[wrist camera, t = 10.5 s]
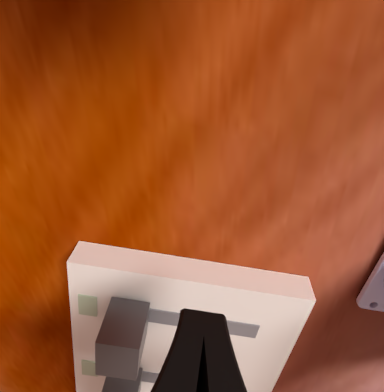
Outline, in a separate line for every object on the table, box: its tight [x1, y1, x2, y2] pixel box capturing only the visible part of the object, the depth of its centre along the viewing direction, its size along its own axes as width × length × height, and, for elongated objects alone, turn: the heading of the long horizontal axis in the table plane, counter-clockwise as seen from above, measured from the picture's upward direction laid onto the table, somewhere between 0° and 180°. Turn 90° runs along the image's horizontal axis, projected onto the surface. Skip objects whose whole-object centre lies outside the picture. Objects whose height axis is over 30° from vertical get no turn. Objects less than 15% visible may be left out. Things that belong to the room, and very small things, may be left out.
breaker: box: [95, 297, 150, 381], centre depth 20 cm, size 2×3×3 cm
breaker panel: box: [67, 241, 316, 392], centre depth 26 cm, size 15×21×2 cm
